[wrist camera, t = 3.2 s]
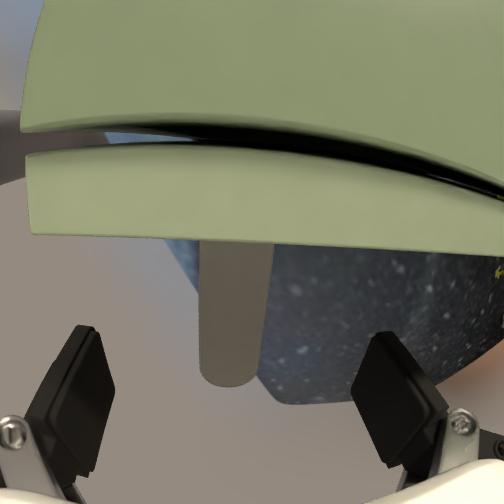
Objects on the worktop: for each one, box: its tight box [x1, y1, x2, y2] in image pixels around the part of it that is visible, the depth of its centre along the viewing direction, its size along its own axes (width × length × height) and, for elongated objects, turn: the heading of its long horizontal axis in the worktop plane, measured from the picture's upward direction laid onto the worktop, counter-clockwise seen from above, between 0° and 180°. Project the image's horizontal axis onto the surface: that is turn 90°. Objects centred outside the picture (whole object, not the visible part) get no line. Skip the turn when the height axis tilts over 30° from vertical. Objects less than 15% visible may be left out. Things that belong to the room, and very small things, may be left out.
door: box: [25, 141, 504, 387], centre depth 17 cm, size 8×26×24 cm, turn 85°
